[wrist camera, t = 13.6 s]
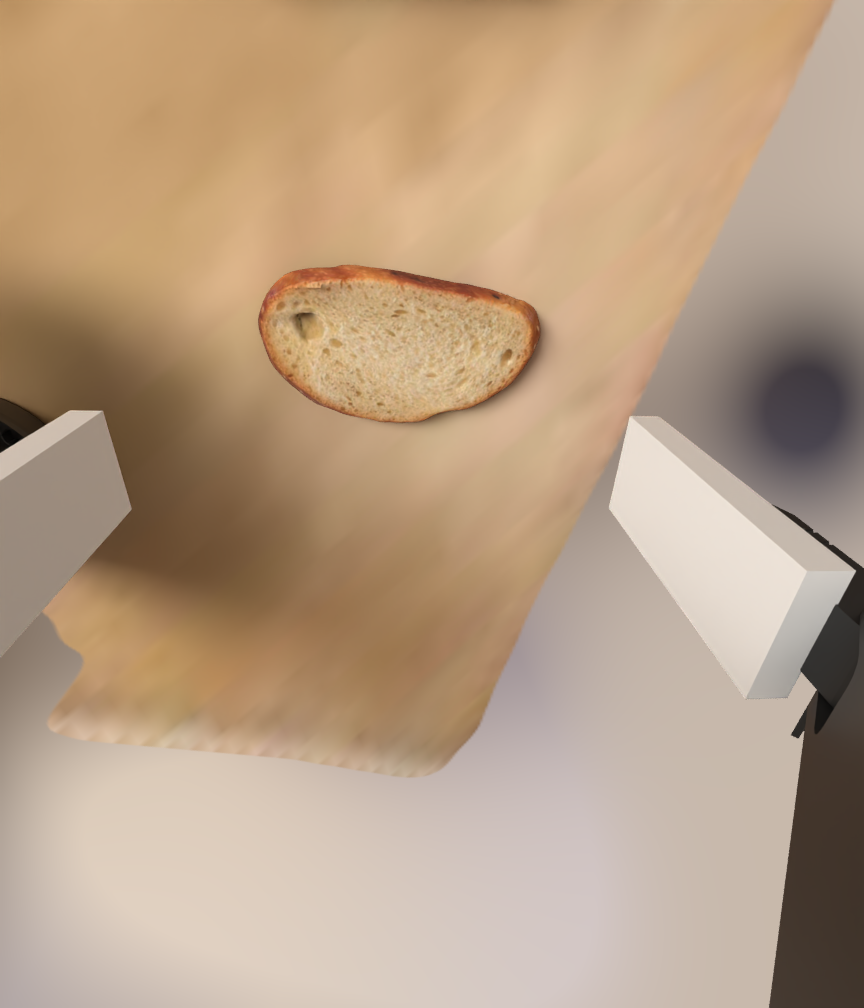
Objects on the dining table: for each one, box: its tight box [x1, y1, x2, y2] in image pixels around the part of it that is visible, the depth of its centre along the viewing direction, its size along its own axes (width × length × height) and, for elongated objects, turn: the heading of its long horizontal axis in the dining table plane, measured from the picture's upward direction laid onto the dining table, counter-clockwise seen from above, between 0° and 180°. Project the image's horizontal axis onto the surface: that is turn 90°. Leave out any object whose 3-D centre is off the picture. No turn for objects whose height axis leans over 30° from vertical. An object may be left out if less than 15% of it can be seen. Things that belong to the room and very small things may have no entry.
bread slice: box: [258, 265, 540, 423], centre depth 39 cm, size 18×18×4 cm
